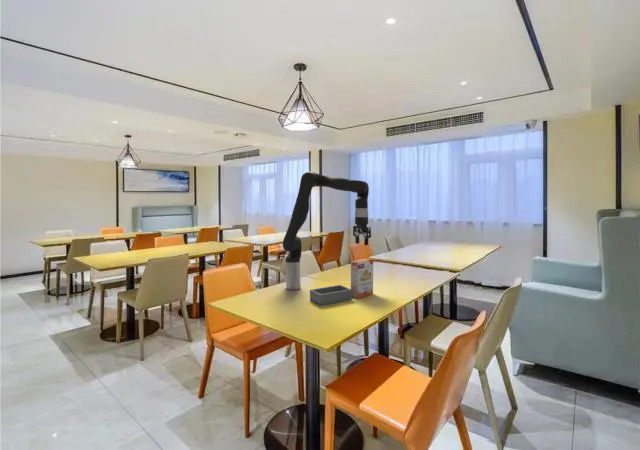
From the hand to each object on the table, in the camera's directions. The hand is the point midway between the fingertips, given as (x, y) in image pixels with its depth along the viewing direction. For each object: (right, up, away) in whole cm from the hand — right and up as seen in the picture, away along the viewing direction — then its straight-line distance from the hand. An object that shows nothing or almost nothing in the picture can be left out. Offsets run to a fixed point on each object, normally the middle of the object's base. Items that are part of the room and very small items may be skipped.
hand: (361, 244), depth 193 cm
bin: (-18, -31, -6) cm, 36 cm away
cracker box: (+1, -30, +2) cm, 30 cm away
